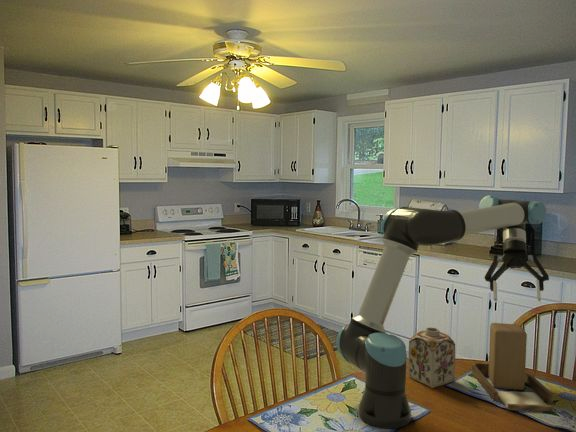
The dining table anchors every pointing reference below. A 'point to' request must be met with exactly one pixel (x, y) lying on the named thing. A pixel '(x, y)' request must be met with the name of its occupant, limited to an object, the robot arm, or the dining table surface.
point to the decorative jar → (431, 358)
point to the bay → (515, 398)
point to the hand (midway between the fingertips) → (516, 299)
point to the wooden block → (507, 356)
